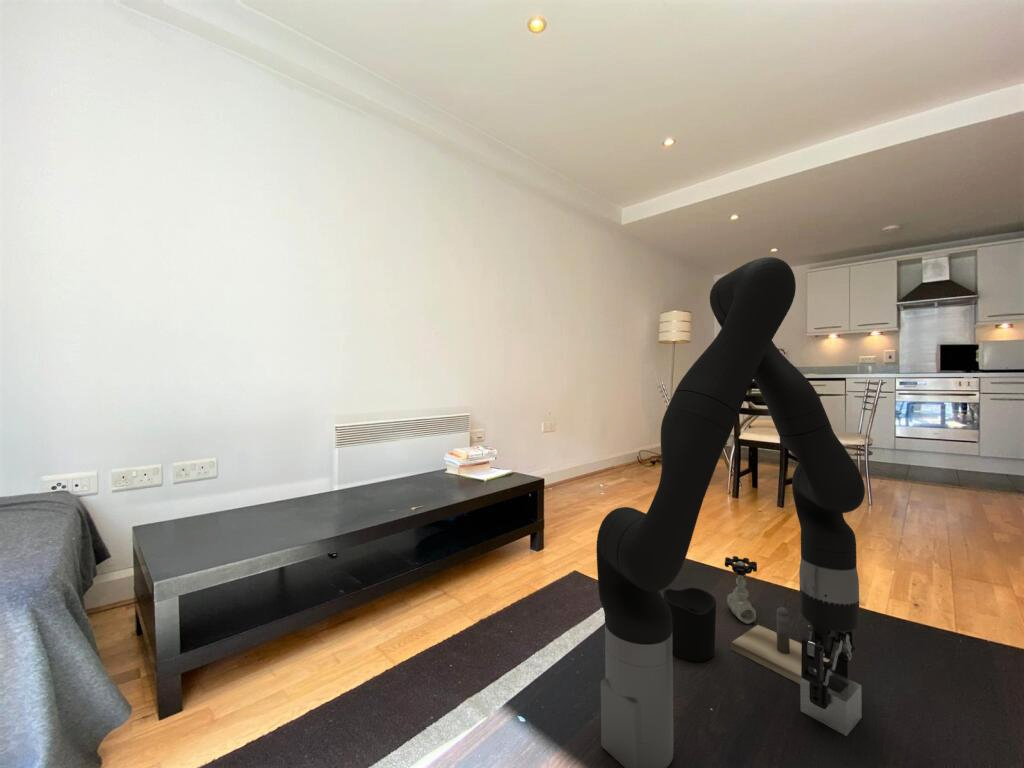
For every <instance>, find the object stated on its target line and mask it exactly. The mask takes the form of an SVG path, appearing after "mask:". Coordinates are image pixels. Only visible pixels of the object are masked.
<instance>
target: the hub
mask: <svg viewBox="0 0 1024 768" xmlns="http://www.w3.org/2000/svg"><path fill="white" fill-rule="evenodd" d="M823 671H824V668H823ZM814 672H816V669H814ZM799 686H800V698H799V699H800V712H801V713H803V714H806V715H807V716H809V717H811V718H812V719H814V720H816V721H818V722H820V723H822V724H824V725H825V726H827V727H829V728H830V729H833V730H834V731H836V732H838V733H840V734H842V735H843V736H845V737H848V735H849V734H850V732H851V731H852V730H853V729H854V728H855V726H856V725H857V724H858V723H859V721H860V720H861V719H862V717H863V716H862V709H863V708H862V707H863V706H862V700H863V699H862V684H860V683H858V682H856V681H853V680H851V679H850V678H849V679H847V678H845V677H843V676H840V675H838V674H836V673H834V672H832V671H831V672H830V676H829V680H828V707H827V708H826V709H822V708H820V707H818V706H817V705H815V704H813V703H812V702H811V701H810V690H809V681H807V680H805V679H803V678H801V679H800V684H799Z"/></svg>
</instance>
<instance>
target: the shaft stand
mask: <svg viewBox="0 0 1024 768" xmlns="http://www.w3.org/2000/svg"><path fill="white" fill-rule="evenodd" d="M731 651H733V652H736V653H737V654H739V655H741V656H743V657H745V658H747V659H749V660H751V661H753V662H755V663H757V664H759V665H762V666H763V667H765V668H767V669H769V670H771V671H773V672H775V673H777V674H779V675H781V676H783V677H784V678H787V679H789V680H791V681H793V682H795V684H798V685H800V679H801V678H802V677H801V654H802V642H799V641H796V640H794V639H791V637H790V612H789V610H788V609H787V608H786V607H784V606H779V607H778V608H776V631H773V630H771V629H769V628H766V627H765V626H762V625H759V624H757V625H755V626H753V627H752V628H750V629H749V630H748V631H746V632H745V633H743V634H742V635H740V636H739V637H737V638H736V639H734V640H733V641H731ZM823 661H825V662H828V661H830V660H829V659H826V658H824V657H823ZM823 668H824V667H823Z"/></svg>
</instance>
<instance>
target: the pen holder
mask: <svg viewBox="0 0 1024 768" xmlns="http://www.w3.org/2000/svg"><path fill="white" fill-rule="evenodd" d="M662 597H663V598H664V600H665V601H666V603H667V604H668V606H669V608H670V610H671V614H672V644H673V652H672V654H674V655H675V656H676V657H677V658H679V659H683V660H685V661H690V662H698V663H699V662H701V663H702V662H706V661H708V660H710V659H711V658H713V656H714V654H715V644H716V621H717V620H716V618H717V615H716V613H717V600H716V598H715V597H714V596H713V595H712V594H711V593H709V592H708V591H706V590H704V589H701V588H698V587H687V588H683V589H672V588H665V589H664V591H663V595H662Z"/></svg>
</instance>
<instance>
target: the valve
mask: <svg viewBox="0 0 1024 768" xmlns="http://www.w3.org/2000/svg"><path fill="white" fill-rule="evenodd" d="M730 566H731V570H732V571H733V573H735V574H736V575H737V576H736V577H735V584H736V585H737V586H735V587H734V588H732V589H733V590H732V591H733V592H731V593H729V594H728V595H727V597H726V601H727V605H728V606H729V608H730V610H731V612H732V613H733V614H734V616H736V617H737V618H738V620H740V621H741V622H743V623H745V624H746V625H749V624H751V623H753V622H756V620H757V613H756V612H757V611H756V610H755V608H754V607H752V604H751V602H750V601H749V600H748V598H749V597H750V594H749V593H750V592H749V591H748V590H747V589H746V586H747V580H746V578H745V577H744V576H746V575H748V574H751V573H752V572H754V573H756V572H758V564H757V561H750V558H748V557H743V558H739V556H736V555H734V556H732V558H731V557H728V556H726V557H725V558H724V567H726V568H729V567H730Z"/></svg>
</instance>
